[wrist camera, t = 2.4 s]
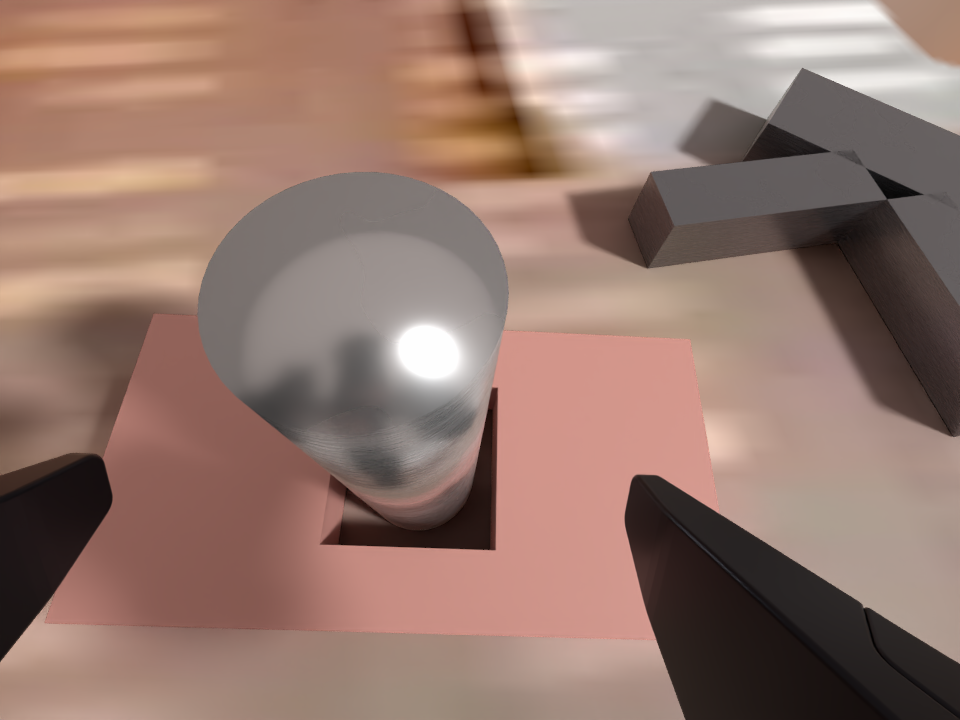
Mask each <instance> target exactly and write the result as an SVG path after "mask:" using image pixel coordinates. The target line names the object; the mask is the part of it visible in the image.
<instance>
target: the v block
mask: <svg viewBox="0 0 960 720" xmlns="http://www.w3.org/2000/svg"><path fill="white" fill-rule="evenodd" d="M628 219H629V222H630V224H631V227H632V229H633V232H634V234H635V237H636V240H637V242H638V245H639V247H640V250H641V252H642V255H643V257H644V260H645V262H646V265H647V268H654V267H661V266H669V265H676V264H684V263H691V262H698V261H706V260H713V259H720V258H728V257H735V256H742V255H750V254H757V253H764V252H772V251H779V250H786V249H794V248H801V247H809V246H816V245H823V244H831V243H837V242H838V244H839V246H840V248H841V249H842V251H843V253H844V255H845V256H846V258H847V260H848V261H849V263H850V265H851V266H852V268H853V270H854V271H855V273H856V275H857V276H858V278H859V280H860V281H861V283H862V285H863V286H864V288H865V290H866V291H867V293H868V295H869V296H870V298H871V300H872V301H873V303H874V305H875V306H876V308H877V310H878V311H879V313H880V315H881V316H882V318H883V320H884V321H885V323H886V325H887V326H888V328H889V330H890V331H891V333H892V335H893V337H894V338H895V340H896V342H897V343H898V345H899V347H900V348H901V350H902V352H903V353H904V355H905V357H906V358H907V360H908V362H909V363H910V365H911V367H912V368H913V370H914V372H915V373H916V375H917V377H918V378H919V380H920V382H921V383H922V385H923V387H924V388H925V390H926V392H927V393H928V395H929V397H930V398H931V400H932V402H933V403H934V405H935V407H936V408H937V410H938V412H939V414H940V415H941V417H942V419H943V420H944V422H945V424H946V425H947V427H948V429H949V430H950V432H951V434H952V435H953V437H956V436H960V136H959V135H957V134H954V133H952V132H950V131H947V130H945V129H943V128H941V127H938V126H936V125H934V124H931V123H929V122H927V121H924V120H922V119H920V118H917V117H915V116H913V115H910V114H908V113H906V112H903V111H901V110H899V109H896V108H894V107H892V106H889V105H887V104H885V103H882V102H880V101H878V100H876V99H873V98H871V97H869V96H866V95H864V94H862V93H859V92H857V91H855V90H852V89H850V88H848V87H845V86H843V85H841V84H838V83H836V82H834V81H831V80H829V79H827V78H824V77H822V76H820V75H818V74H815V73H813V72H811V71H808V70H806V69H804V68H802V69H801V70H800V72H799V73H798V75H797V76H796V78H795V79H794V81H793V82H792V84H791V85H790V86H789V88H788V89H787V91H786V92H785V94H784V95H783V97H782V98H781V100H780V101H779V102H778V104H777V105H776V107H775V108H774V110H773V111H772V113H771V114H770V116H769V117H768V119H767V120H766V122H765V123H764V125H763V127H762V128H761V130H760V132H759V133H758V135H757V136H756V138H755V140H754V141H753V143H752V145H751V146H750V148H749V149H748V151H747V153H746V154H745V156H744V158H743V159H742V161H741V162H737V163H728V164H719V165H710V166H701V167H692V168H683V169H674V170H664V171H655V172H651V173H650V175H649V177H648V179H647V181H646V183H645V185H644V187H643V189H642V191H641V193H640V195H639V197H638V199H637V201H636V203H635V205H634V208H633V210H632V212H631V214H630V216H629V218H628ZM852 229H853V230H852ZM845 235H846V236H845ZM844 236H845V237H844Z"/></svg>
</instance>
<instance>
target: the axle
mask: <svg viewBox="0 0 960 720" xmlns="http://www.w3.org/2000/svg"><path fill="white" fill-rule="evenodd" d="M508 295H509V291H508V278H507V273H506V269H505V264H504V260H503V258H502V255H501V253H500V250H499V248H498V245H497V244H496V242H495V240H494V239H493V237H492V235H491V233H490V232H489V230H488V229H487V228H486V227H485V225H484V224H483V223H482V221H481V220H480V219H479V218H478V217H477V216H476V215H475V214H474V213H473V212H472V211H471V210H470V209H469V208H468V207H466V206H465V205H464V204H462V203H461V202H460V201H458V200H457V199H456V198H454V197H453V196H451V195H449V194H448V193H446V192H444V191H442V190H441V189H438V188H436V187H434V186H432V185H429V184H427V183H425V182H422V181H418V180H415V179H412V178H409V177H404V176H399V175H394V174H387V173H378V172H352V173H341V174H335V175H329V176H324V177H320V178H316V179H313V180H309V181H306V182H303V183H300V184H298V185H295V186H293V187H290V188H288V189H286V190H284V191H282V192H280V193H278V194H276V195H274V196H272V197H270V198H269V199H267V200H266V201H264V202H263V203H261V204H260V205H258V206H257V207H255V208H254V209H253V210H252V211H250V212H249V213H248V214H247V215H246V216H244V217H243V218H242V219H241V220H240V221H239V222H238V223H237V224H236V225H235V226H234V227H233V228H232V229H231V230H230V232H229V233H228V234H227V235H226V237H225V238H224V239H223V241H222V242H221V243H220V245H219V246H218V247H217V249H216V251H215V253H214V255H213V257H212V258H211V260H210V262H209V264H208V267H207V269H206V272H205V274H204V277H203V280H202V284H201V289H200V293H199V300H198V325H199V333H200V337H201V341H202V344H203V348H204V351H205V353H206V355H207V357H208V360H209V362H210V364H211V366H212V368H213V369H214V371H215V372H216V374H217V375H218V377H219V378H220V380H221V381H222V382H223V383H224V385H225V386H226V387H227V388H228V389H229V390H230V391H231V392H232V393H233V394H234V395H235V396H236V397H237V398H238V399H239V400H241V401H242V402H243V403H244V404H246V405H247V406H248V407H249V408H250V409H252V410H253V411H254V412H255V413H257V414H258V415H259V416H260V417H261V418H263V419H264V420H265V421H266V422H268V423H269V424H270V425H271V426H273V427H274V428H275V429H276V430H277V431H279V432H280V433H281V434H282V435H284V436H285V437H286V438H287V439H288V440H290V441H291V442H292V443H293V444H295V445H296V446H297V447H298V448H299V449H301V450H302V451H303V452H304V453H306V454H307V455H308V456H309V457H310V458H312V459H313V460H314V461H315V462H317V463H318V464H319V465H320V466H321V467H323V468H324V469H325V470H326V471H328V472H329V473H330V474H331V475H332V476H334V477H335V478H336V479H337V480H339V481H340V482H341V483H342V484H343V485H345V486H346V487H347V488H348V489H350V490H351V491H352V492H353V493H354V494H356V495H357V496H358V497H359V498H361V499H362V500H363V501H364V502H365V503H367V504H368V505H369V506H370V507H372V508H373V509H374V510H375V511H376V512H378V513H379V514H380V515H381V516H383V517H384V518H385V519H386V520H388V521H389V522H391V523H392V524H394V525H396V526H398V527H401V528H404V529H408V530H427V529H432V528H435V527H438V526H440V525H442V524H444V523H446V522H447V521H449V520H451V519H452V518H453V517H454V516H455V515H456V514H457V513H458V512H459V511H460V510H461V509H462V507H463V506H464V504H465V503H466V501H467V499H468V497H469V494H470V492H471V488H472V484H473V479H474V474H475V469H476V464H477V459H478V454H479V449H480V444H481V439H482V434H483V429H484V424H485V419H486V414H487V409H488V404H489V399H490V394H491V389H492V384H493V379H494V374H495V369H496V364H497V359H498V354H499V349H500V344H501V339H502V334H503V330H504V325H505V320H506V315H507V309H508Z"/></svg>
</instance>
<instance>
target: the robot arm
mask: <svg viewBox="0 0 960 720" xmlns="http://www.w3.org/2000/svg"><path fill="white" fill-rule="evenodd" d="M112 501H113V494H112V490H111V486H110V482H109V478H108V474H107V471H106V467H105V463H104V460H103V459H102V458H101V457H100V456H99V455H97V454H86V453H70V454H66V455H63V456H60V457H57V458H54V459H51V460H47V461H44V462H41V463H38V464H35V465H32V466H29V467H26V468H23V469H20V470H16V471H13V472H10V473H7V474H4V475H1V476H0V662H1V660H2V659H3V658H4V657H5V655H6V654H7V653H8V652H9V650H10V649H11V648H12V647H13V645H14V644H15V643H16V641H17V640H18V639H19V638H20V636H21V635H22V634H23V633H24V631H25V630H26V629H27V628H28V626H29V625H30V624H31V623H32V621H33V620H34V619H35V618H36V616H37V615H38V614H39V613H40V611H41V610H42V609H43V607H44V606H45V605H46V603H47V602H48V601H49V599H50V598H51V597H52V596H53V594H54V593H55V591H56V590H57V588H58V587H59V586H60V584H61V583H62V581H63V580H64V578H65V577H66V575H67V574H68V572H69V571H70V569H71V568H72V566H73V565H74V563H75V562H76V560H77V559H78V557H79V556H80V554H81V553H82V551H83V550H84V548H85V547H86V545H87V544H88V542H89V541H90V539H91V537H92V536H93V534H94V533H95V531H96V530H97V528H98V527H99V525H100V524H101V522H102V521H103V519H104V518H105V516H106V515H107V513H108V512H109V510H110V508H111V505H112ZM624 521H625V528H626V533H627V537H628V541H629V545H630V549H631V553H632V557H633V561H634V565H635V569H636V573H637V577H638V581H639V585H640V589H641V594H642V598H643V601H644V605H645V609H646V612H647V615H648V618H649V621H650V624H651V627H652V629H653V632H654V635H655V638H656V640H657V643H658V646H659V649H660V651H661V654H662V657H663V659H664V662H665V665H666V668H667V670H668V673H669V676H670V679H671V681H672V684H673V687H674V690H675V692H676V695H677V698H678V701H679V703H680V706H681V709H682V712H683V714H684V717H685V720H960V664H959V663H958V662H956V661H954V660H952V659H951V658H949V657H947V656H946V655H944V654H942V653H941V652H939V651H937V650H936V649H934V648H933V647H931V646H929V645H928V644H926V643H924V642H923V641H921V640H920V639H918V638H916V637H915V636H913V635H911V634H910V633H908V632H906V631H905V630H903V629H902V628H900V627H898V626H897V625H895V624H894V623H892V622H890V621H889V620H887V619H886V618H884V617H883V616H881V615H879V614H878V613H876V612H875V611H873V610H872V609H870V608H867V607H866V608H863V605H862V604H861V603H860V602H859V601H857V600H855V599H854V598H852V597H851V596H849V595H848V594H846V593H844V592H843V591H841V590H840V589H838V588H836V587H835V586H833V585H832V584H830V583H828V582H827V581H825V580H824V579H822V578H821V577H819V576H817V575H816V574H814V573H813V572H811V571H809V570H808V569H806V568H805V567H803V566H801V565H800V564H798V563H797V562H795V561H794V560H792V559H790V558H789V557H787V556H786V555H784V554H782V553H781V552H779V551H778V550H776V549H774V548H773V547H771V546H770V545H768V544H767V543H765V542H763V541H762V540H760V539H759V538H757V537H755V536H754V535H752V534H751V533H749V532H748V531H746V530H744V529H743V528H741V527H740V526H738V525H736V524H735V523H733V522H732V521H730V520H728V519H727V518H725V517H724V516H722V515H721V514H719V513H717V512H716V511H714V510H713V509H711V508H709V507H708V506H706V505H705V504H703V503H701V502H700V501H698V500H697V499H695V498H694V497H692V496H690V495H689V494H687V493H686V492H684V491H682V490H681V489H679V488H678V487H676V486H674V485H673V484H671V483H670V482H668V481H667V480H665V479H663V478H662V477H660V476H658V475H645V474H637V475H635V476H634V477H633V478H632V480H631V484H630V489H629V494H628V499H627V504H626V509H625V516H624Z"/></svg>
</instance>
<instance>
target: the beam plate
mask: <svg viewBox="0 0 960 720" xmlns="http://www.w3.org/2000/svg"><path fill="white" fill-rule="evenodd" d="M488 409H493V431H492V485H491V539H490V550H469V549H439V548H409V547H379V546H349V545H338V544H339V537H340V530H341V522H342V515H343V508H344V501H345V494H346V486H345V485H343V484H342V483H341V482H340V481H339V480H337V479H336V478H335V477H334V476H332V475H331V474H330V473H329V472H328V471H326V470H325V469H324V468H323V467H321V466H320V465H319V464H318V463H317V462H315V461H314V460H313V459H312V458H310V457H309V456H308V455H307V454H306V453H304V452H303V451H302V450H301V449H299V448H298V447H297V446H296V445H295V444H293V443H292V442H291V441H290V440H288V439H287V438H286V437H285V436H284V435H282V434H281V433H280V432H279V431H277V430H276V429H275V428H274V427H273V426H271V425H270V424H269V423H268V422H266V421H265V420H264V419H263V418H261V417H260V416H259V415H258V414H257V413H255V412H254V411H253V410H252V409H250V408H249V407H248V406H247V405H246V404H244V403H243V402H242V401H241V400H239V399H238V398H237V397H236V396H235V395H234V394H233V393H232V392H231V391H230V390H229V389H228V388H227V387H226V386H225V385H224V383H223V382H222V381H221V380H220V378H219V377H218V375H217V374H216V372H215V371H214V369H213V368H212V366H211V364H210V362H209V360H208V357H207V355H206V353H205V351H204V348H203V344H202V341H201V337H200V333H199V325H198V316H196V315H175V314H153V317H152V320H151V323H150V326H149V328H148V331H147V334H146V337H145V340H144V343H143V345H142V348H141V351H140V354H139V357H138V359H137V362H136V365H135V368H134V371H133V374H132V376H131V379H130V382H129V385H128V388H127V391H126V393H125V396H124V399H123V402H122V405H121V408H120V410H119V413H118V416H117V419H116V422H115V425H114V427H113V430H112V433H111V436H110V439H109V442H108V444H107V447H106V450H105V453H104V456H103V460H104V463H105V467H106V471H107V474H108V478H109V482H110V486H111V490H112V494H113V501H112V505H111V508H110V510H109V512H108V513H107V515H106V516H105V518H104V519H103V521H102V522H101V524H100V525H99V527H98V528H97V530H96V531H95V533H94V534H93V536H92V537H91V539H90V541H89V542H88V544H87V545H86V547H85V548H84V550H83V551H82V553H81V554H80V556H79V557H78V559H77V560H76V562H75V563H74V565H73V566H72V568H71V569H70V571H69V572H68V574H67V575H66V577H65V578H64V580H63V581H62V583H61V584H60V586H59V587H58V588H57V590H56V592H55V594H54V597H53V600H52V603H51V606H50V609H49V611H48V614H47V617H46V620H45V623H53V624H89V625H126V626H162V627H199V628H235V629H272V630H308V631H345V632H381V633H418V634H454V635H491V636H527V637H564V638H600V639H637V640H656V638H655V635H654V632H653V629H652V627H651V624H650V621H649V618H648V615H647V612H646V609H645V605H644V601H643V598H642V594H641V589H640V585H639V581H638V577H637V573H636V569H635V565H634V561H633V557H632V553H631V549H630V545H629V541H628V537H627V533H626V528H625V521H624V516H625V509H626V504H627V499H628V494H629V489H630V484H631V480H632V478H633V477H634V476H635V475H637V474H645V475H658V476H660V477H662V478H663V479H665V480H667V481H668V482H670V483H671V484H673V485H674V486H676V487H678V488H679V489H681V490H682V491H684V492H686V493H687V494H689V495H690V496H692V497H694V498H695V499H697V500H698V501H700V502H701V503H703V504H705V505H706V506H708V507H709V508H711V509H713V510H714V511H716V512H717V513H719V507H718V501H717V495H716V489H715V484H714V478H713V472H712V466H711V460H710V454H709V448H708V442H707V436H706V430H705V424H704V419H703V413H702V407H701V401H700V395H699V389H698V383H697V377H696V371H695V365H694V359H693V354H692V348H691V342H690V339H672V338H651V337H631V336H610V335H589V334H568V333H548V332H527V331H506V330H503V334H502V339H501V344H500V349H499V354H498V359H497V364H496V369H495V374H494V379H493V384H492V389H491V394H490V399H489V404H488ZM719 514H720V513H719Z"/></svg>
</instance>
